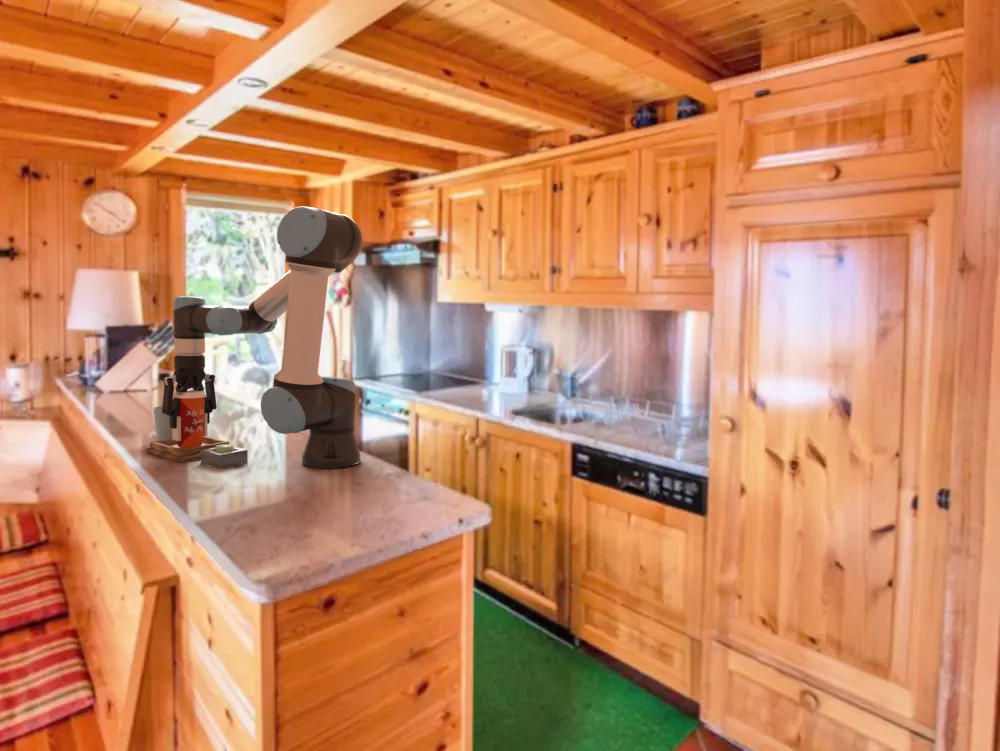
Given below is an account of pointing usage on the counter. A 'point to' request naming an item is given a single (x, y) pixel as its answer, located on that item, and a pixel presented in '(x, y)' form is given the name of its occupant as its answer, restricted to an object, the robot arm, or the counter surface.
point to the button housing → (224, 457)
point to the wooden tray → (182, 449)
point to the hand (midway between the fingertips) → (190, 437)
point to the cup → (162, 424)
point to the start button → (224, 448)
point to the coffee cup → (191, 417)
